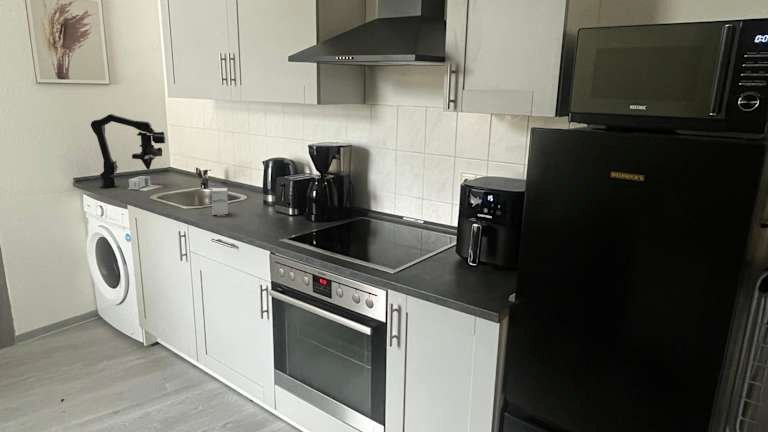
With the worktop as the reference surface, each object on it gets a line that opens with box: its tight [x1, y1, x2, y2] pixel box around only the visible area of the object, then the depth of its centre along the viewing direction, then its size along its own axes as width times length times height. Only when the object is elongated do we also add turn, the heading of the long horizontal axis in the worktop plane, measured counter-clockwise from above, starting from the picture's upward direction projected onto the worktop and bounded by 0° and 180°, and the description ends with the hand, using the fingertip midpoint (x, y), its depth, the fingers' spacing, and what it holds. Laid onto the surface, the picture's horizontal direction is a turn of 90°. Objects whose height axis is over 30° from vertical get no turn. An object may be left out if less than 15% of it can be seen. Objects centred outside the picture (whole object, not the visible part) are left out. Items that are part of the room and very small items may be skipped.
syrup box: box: [128, 175, 152, 191], centre depth 308 cm, size 6×6×14 cm
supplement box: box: [211, 187, 229, 216], centre depth 254 cm, size 7×7×13 cm
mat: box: [127, 184, 164, 192], centre depth 309 cm, size 12×15×1 cm
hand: (148, 169), depth 310 cm, fingers closed
